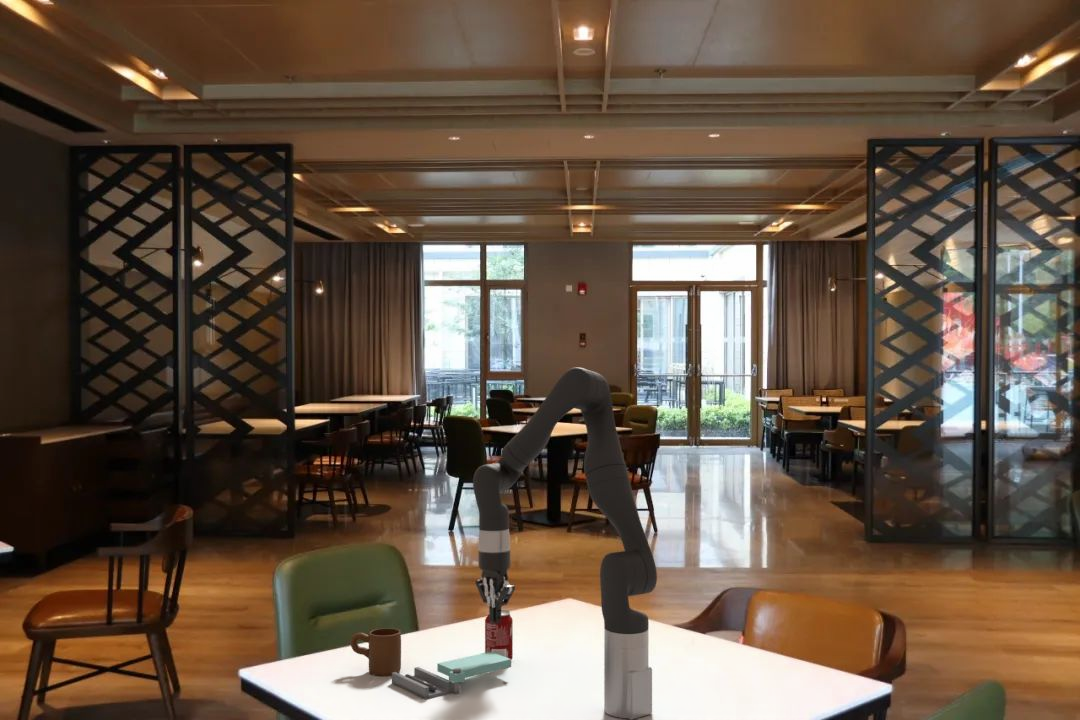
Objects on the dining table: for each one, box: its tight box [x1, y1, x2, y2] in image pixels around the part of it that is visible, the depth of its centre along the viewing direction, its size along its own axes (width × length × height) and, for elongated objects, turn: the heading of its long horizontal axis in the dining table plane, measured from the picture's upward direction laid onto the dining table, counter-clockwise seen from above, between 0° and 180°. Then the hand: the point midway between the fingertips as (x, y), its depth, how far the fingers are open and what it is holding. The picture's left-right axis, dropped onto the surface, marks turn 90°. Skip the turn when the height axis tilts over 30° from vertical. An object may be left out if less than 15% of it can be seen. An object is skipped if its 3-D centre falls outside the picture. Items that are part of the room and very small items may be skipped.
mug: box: [349, 627, 402, 677], centre depth 229 cm, size 12×8×9 cm, turn 89°
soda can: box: [484, 609, 514, 661], centre depth 237 cm, size 7×7×12 cm
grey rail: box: [391, 666, 461, 700], centre depth 217 cm, size 16×8×2 cm, turn 39°
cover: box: [436, 652, 512, 684], centre depth 221 cm, size 17×10×2 cm, turn 129°
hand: (495, 622), depth 227 cm, fingers closed
